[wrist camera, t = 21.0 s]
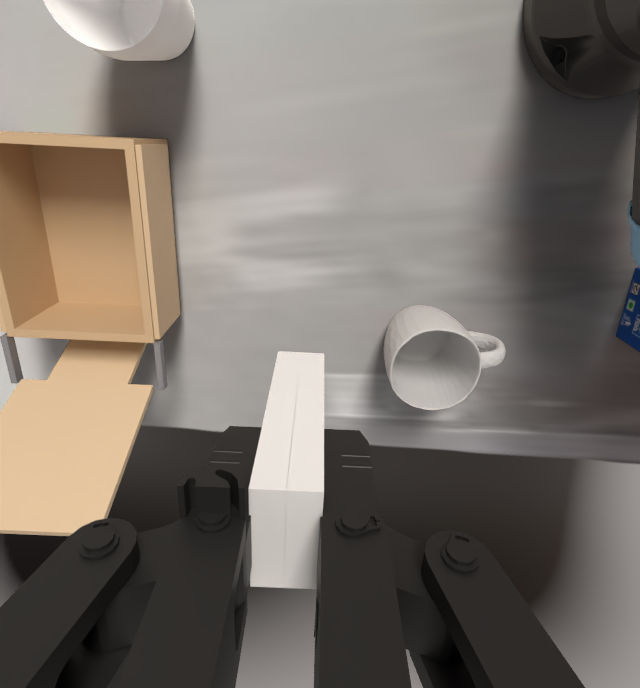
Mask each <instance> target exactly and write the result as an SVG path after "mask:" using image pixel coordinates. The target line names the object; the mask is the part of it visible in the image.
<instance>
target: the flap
mask: <svg viewBox="0 0 640 688" xmlns="http://www.w3.org/2000/svg"><path fill="white" fill-rule="evenodd" d="M146 346H147V343H138V342H117V341H96V340H74V339H71V340H70V342H69V343H68V345H67V347H66V348H65V350H64V352H63V354H62V355H61V357H60V359H59V360H58V362H57V364H56V365H55V367H54V369H53V371H52V372H51V374H50V376H49V377H48V379H47V380H29V379H21V381H20V382H19V384H18V385H17V387H16V388H15V390H14V392H13V393H12V395H11V396H10V398H9V399H8V401H7V403H6V404H5V406H4V407H3V409H2V410H1V412H0V533H8V534H32V535H56V536H70V535H71V534H73V533H74V532H75V531H76V530H78V529H79V528H80V527H82V526H84V525H86V524H89V523H91V522H93V521H96V520H101V519H106V518H107V517H108V514H109V511H110V509H111V506H112V503H113V500H114V498H115V495H116V492H117V490H118V487H119V484H120V481H121V478H122V476H123V473H124V470H125V467H126V465H127V462H128V459H129V456H130V454H131V451H132V448H133V445H134V443H135V440H136V437H137V434H138V431H139V429H140V426H141V423H142V421H143V418H144V415H145V412H146V410H147V407H148V404H149V401H150V399H151V396H152V393H153V390H154V388H153V385H138V384H131V382H132V380H133V377H134V375H135V372H136V370H137V367H138V365H139V363H140V360H141V358H142V355H143V353H144V351H145V348H146Z"/></svg>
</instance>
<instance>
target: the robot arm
mask: <svg viewBox="0 0 640 688" xmlns="http://www.w3.org/2000/svg"><path fill="white" fill-rule="evenodd" d="M523 28H524V36H525V42H526V46H527V49H528V52H529V55H530V57H531V60H532V62H533V64H534V66H535V67H536V69H537V70H538V72H539V73H540V74H541V76H542V77H543V78H544V79H545V80H546V81H547V82H548V83H549V84H550V85H552V86H553V87H554V88H556V89H558V90H559V91H561V92H563V93H565V94H568V95H571V96H574V97H579V98H603V97H609V96H615V95H620V94H624V93H627V92H630V91H632V90H635V89H637V88H639V97H638V113H637V130H636V147H635V163H634V180H633V196H632V201H630V203H629V207H628V217H629V223H630V224H631V254H632V256H633V258H634V260H635V263H636V264H637V265H638V267H639V268H640V0H525V2H524V11H523ZM177 488H178V500H179V510H180V520H178V521H176V522H174V523H172V524H170V525H168V526H165V527H161V528H158V529H153V530H148V531H143V532H139V533H137V532H136V530H135V528H134V527H133V525H132V524H131V523H129V522H127V521H125V520H123V519H116V518H106V519H101V520H96V521H93V522H91V523H89V524H86V525H84V526H82V527H80V528H79V529H78V530H76V531H75V532H74V533H73V534H71V535H70V536H69V537H68V538H67V539H66V540H65V541H64V542H63V543H62V544H61V545H60V547H58V548H57V549H56V550H55V551H54V552H53V554H52V555H51V556H50V557H49V558H48V559H47V560H46V561H45V562H44V563H43V564H42V565H41V566H40V567H39V568H38V569H37V570H36V571H35V572H34V573H33V574H32V575H31V576H30V577H29V578H28V579H27V580H26V581H25V582H24V583H23V584H22V586H21V587H20V588H19V589H18V590H17V591H16V592H15V593H14V594H13V595H12V596H11V597H10V598H9V599H8V600H7V601H6V602H5V603H4V604H3V605H2V606H1V607H0V688H235V685H236V678H237V671H238V666H239V660H240V653H241V647H242V640H243V635H244V628H245V622H246V615H247V591H248V585H249V579H250V586H253V587H276V588H301V589H317V599H316V614H315V630H314V637H315V664H314V688H411V681H410V675H409V669H408V662H407V656H406V650H405V649H408V650H409V652H410V656H411V658H412V661H413V663H414V666H415V668H416V671H417V673H418V676H419V678H420V681H421V683H422V686H423V688H585V687H584V686H583V684H582V683H581V681H580V680H579V679H578V677H577V675H576V674H575V673H574V671H573V670H572V668H571V667H570V665H569V664H568V662H567V661H566V660H565V658H564V657H563V655H562V654H561V652H560V651H559V649H558V648H557V647H556V645H555V644H554V642H553V641H552V639H551V638H550V636H549V635H548V634H547V632H546V631H545V629H544V628H543V626H542V625H541V623H540V622H539V621H538V620H537V618H536V616H535V615H534V613H533V612H532V611H531V609H530V608H529V606H528V605H527V603H526V602H525V600H524V599H523V598H522V597H521V595H520V593H519V592H518V590H517V589H516V587H515V586H514V585H513V583H512V582H511V580H510V579H509V577H508V576H507V574H506V573H505V572H504V570H503V569H502V567H501V566H500V564H499V563H498V561H497V560H496V559H495V557H494V556H493V554H492V553H491V552H490V551H489V550H488V548H487V547H486V546H485V545H484V544H483V543H482V542H480V541H479V540H477V539H475V538H474V537H472V536H470V535H468V534H465V533H461V532H458V531H442V532H439V533H436V534H433V535H432V537H431V538H430V539H429V540H428V541H427V542H426V543H425V542H422V541H419V540H416V539H413V538H409V537H407V536H404V535H402V534H400V533H398V532H396V531H395V530H393V529H392V528H390V527H389V526H388V525H387V524H386V523H385V522H384V520H383V517H382V516H381V515H380V513H379V510H378V505H377V498H376V491H375V484H374V477H373V471H372V463H371V458H370V450H369V443H368V441H367V440H366V439H365V437H364V436H363V435H362V434H361V432H360V431H356V430H334V429H324V354H323V353H301V352H280V351H278V355H277V360H276V364H275V369H274V374H273V378H272V383H271V388H270V392H269V397H268V401H267V406H266V411H265V415H264V420H263V424H262V428H261V427H239V426H230V427H229V428H227V429H226V430H225V431H224V432H223V433H222V434H221V435H220V436H219V437H218V440H217V443H216V445H215V449H214V452H213V454H212V457H211V459H210V463H209V465H208V466H205V467H202V468H199V469H196V470H193V471H192V472H190V473H189V474H187V475H186V476H184V477H183V478H182V480H181V481H180V482H179V484H178V485H177Z"/></svg>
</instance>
